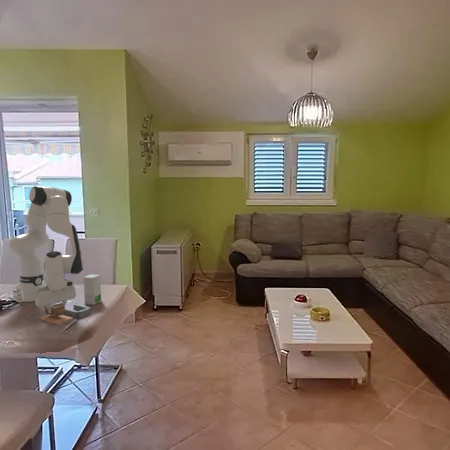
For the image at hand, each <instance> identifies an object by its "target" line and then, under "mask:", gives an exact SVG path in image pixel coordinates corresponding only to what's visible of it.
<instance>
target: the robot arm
mask: <svg viewBox="0 0 450 450" xmlns="http://www.w3.org/2000/svg"><path fill="white" fill-rule="evenodd" d="M28 197H29V201H30V202H31V203H30V204H29V209H28V211H27V215H26V217H25V224H26V225H27V226H28V231H27V232H26V233H21V234H18V235H15V236H14V237H12V238H11V239H10V241H9V249H10V251H12V252H13V253H14V254H15V255H16V256H17V257H18V260H19V263H20V272H21V275H19V276H18V277H19V282H18V283H17V284H16V285H15V286H14V287H13V290H12V291H13V293H12V294H10V295H9V296H8V298H10V299H11V300H13V301H15V302H17V303H27V302H29V303H30V302H35V303H34V304H35V306H36V307H37V308H44V306H46V307H47V309H48V312H49V313H53V309H51V308H50V307H51V304H60V303H63V305H64V306H65V307H66V305H67V301H69V300H73V299H75V298H76V297H77V293H76V292H77V291H76V287H75V281H73V280H71V279H65V275H69V274H71V275H79V274H80V273H81V272H82V271H83V270H84V268H85V262H84V258H83V256H82V252H81V251H82V250H81V246H80V241H79V240H80V239H79V236H78V231H77V227H76V226H75V225H74V224H72V223H71V220H70V210H69V207H70V206H71V204H72V199H73V198H72V197H73V196H72V194H71V192H70V191H68V190H66V189H62V188H57V187H53V186H51V187H50V186H42V185H35V186H33V187H32V188H31V189H30V191H29V196H28ZM47 227H48V228H49V230H51V231H52V232H54V233H56V234H59V235H63V236H65V237H67V239H69V240H70V245H71V246H70V247H71V250H72V251H71V252H72V254H64V255H63V254H62V252H60V251H56V250H55V251H50V252H47V253H46V254H45V256H44V263H43V262H42V260H41V259H40V258H38V256H37V254H36V251H39V250H41V249H43V248H45V247H46V246H48V245H49V242H50V237H49V235H48V233H47ZM42 263H43V264H42ZM43 268H44V272H45V277H44V273H43ZM44 278H45V279H44ZM44 280H45V281H44Z"/></svg>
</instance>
